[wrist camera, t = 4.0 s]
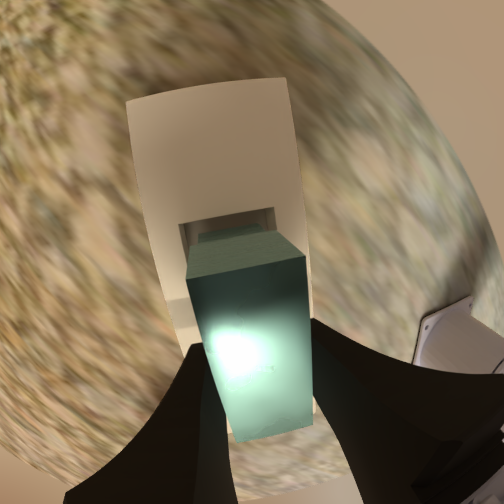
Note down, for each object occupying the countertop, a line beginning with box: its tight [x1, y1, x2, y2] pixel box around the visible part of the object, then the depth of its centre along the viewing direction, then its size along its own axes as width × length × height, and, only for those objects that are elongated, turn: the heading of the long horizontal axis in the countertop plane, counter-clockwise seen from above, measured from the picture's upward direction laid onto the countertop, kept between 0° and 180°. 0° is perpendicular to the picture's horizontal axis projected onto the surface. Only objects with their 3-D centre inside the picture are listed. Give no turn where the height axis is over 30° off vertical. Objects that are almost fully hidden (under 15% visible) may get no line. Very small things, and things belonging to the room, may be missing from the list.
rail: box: [126, 77, 315, 433], centre depth 15 cm, size 20×7×4 cm, turn 9°
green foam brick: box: [185, 223, 313, 443], centre depth 10 cm, size 7×3×6 cm, turn 9°
